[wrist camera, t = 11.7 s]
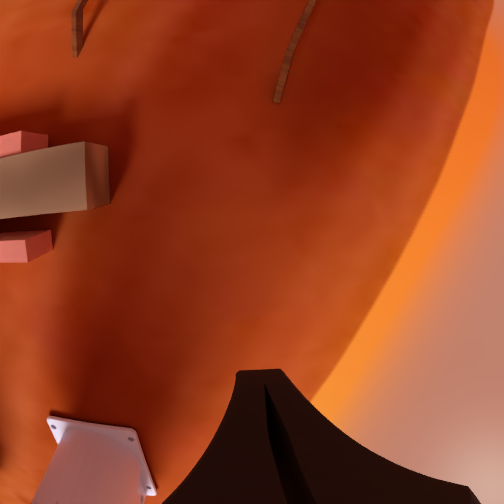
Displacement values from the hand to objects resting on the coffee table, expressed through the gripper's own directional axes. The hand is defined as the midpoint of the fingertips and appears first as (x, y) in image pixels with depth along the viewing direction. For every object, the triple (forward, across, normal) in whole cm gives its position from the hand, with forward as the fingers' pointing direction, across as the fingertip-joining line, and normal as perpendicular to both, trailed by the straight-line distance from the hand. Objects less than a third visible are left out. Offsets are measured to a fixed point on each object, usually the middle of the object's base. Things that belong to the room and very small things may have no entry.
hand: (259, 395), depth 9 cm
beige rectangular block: (+10, +12, -7) cm, 17 cm away
